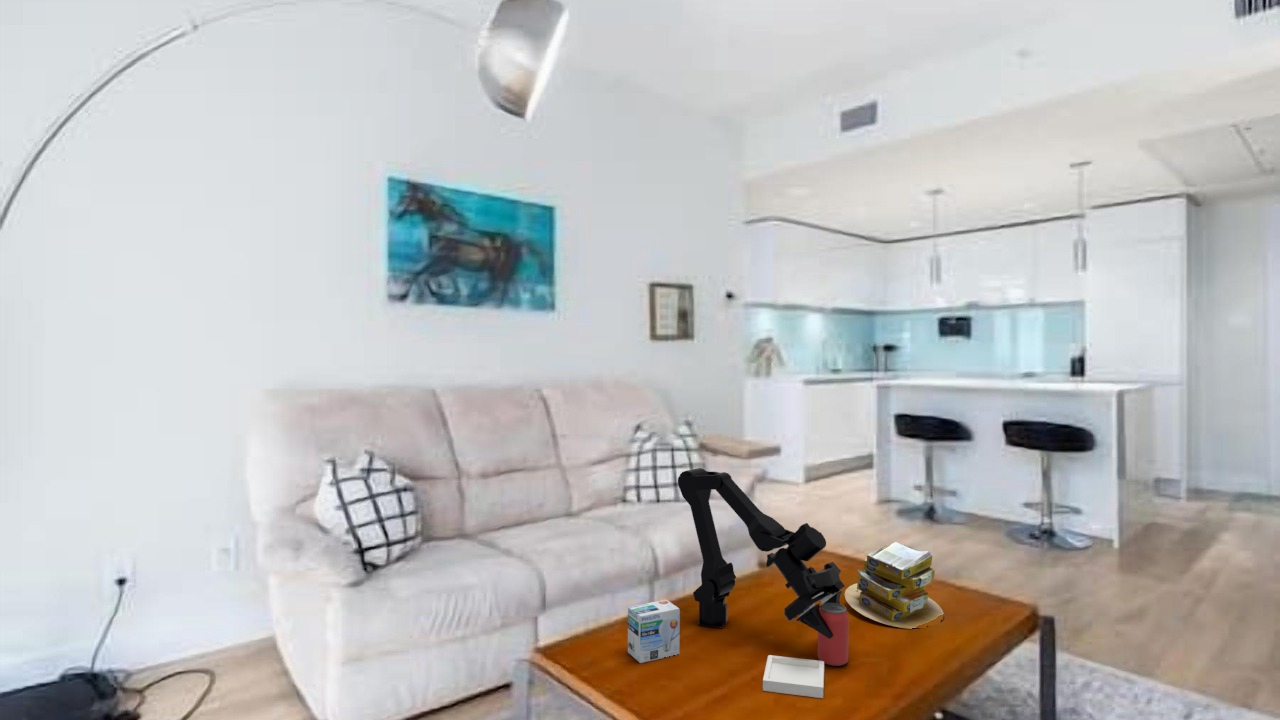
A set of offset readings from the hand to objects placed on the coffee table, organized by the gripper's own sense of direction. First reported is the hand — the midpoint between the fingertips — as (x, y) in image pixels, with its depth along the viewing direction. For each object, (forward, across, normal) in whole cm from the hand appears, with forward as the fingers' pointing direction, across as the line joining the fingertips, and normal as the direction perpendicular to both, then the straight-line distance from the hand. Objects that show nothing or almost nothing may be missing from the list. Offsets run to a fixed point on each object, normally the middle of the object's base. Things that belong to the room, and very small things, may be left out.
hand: (838, 632), depth 155 cm
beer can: (+4, 0, +6) cm, 7 cm away
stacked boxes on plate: (+2, +39, +8) cm, 40 cm away
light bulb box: (-19, -24, +30) cm, 42 cm away
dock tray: (+3, -13, +7) cm, 15 cm away
